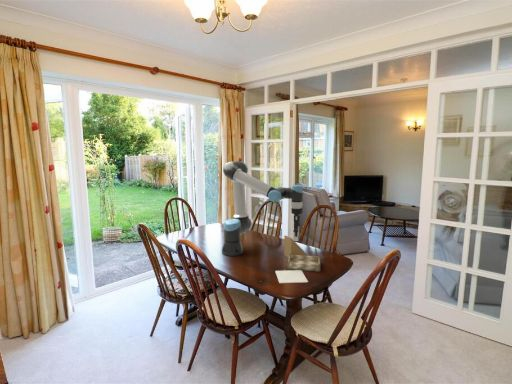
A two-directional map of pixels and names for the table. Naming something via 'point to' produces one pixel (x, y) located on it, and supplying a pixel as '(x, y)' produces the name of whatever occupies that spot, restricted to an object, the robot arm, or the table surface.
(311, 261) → the crate
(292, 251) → the sandwich container
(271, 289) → the table surface
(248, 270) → the table surface
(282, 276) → the linen napkin
